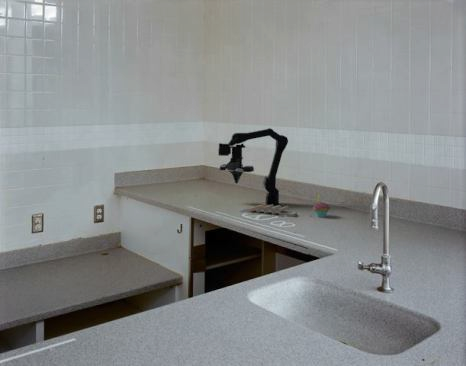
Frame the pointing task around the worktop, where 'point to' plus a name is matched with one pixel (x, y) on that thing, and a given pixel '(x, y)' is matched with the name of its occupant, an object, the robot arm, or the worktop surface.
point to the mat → (260, 212)
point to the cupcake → (321, 208)
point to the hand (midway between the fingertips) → (236, 183)
